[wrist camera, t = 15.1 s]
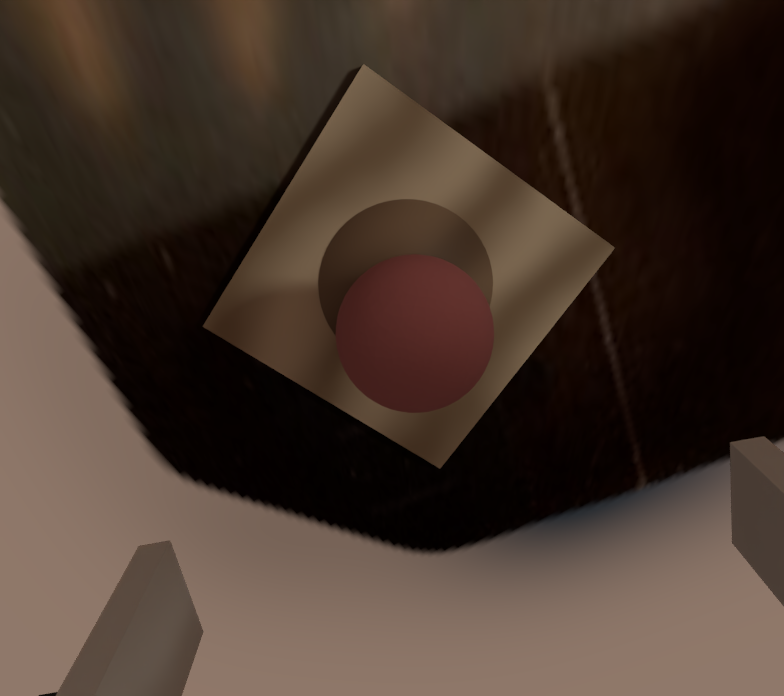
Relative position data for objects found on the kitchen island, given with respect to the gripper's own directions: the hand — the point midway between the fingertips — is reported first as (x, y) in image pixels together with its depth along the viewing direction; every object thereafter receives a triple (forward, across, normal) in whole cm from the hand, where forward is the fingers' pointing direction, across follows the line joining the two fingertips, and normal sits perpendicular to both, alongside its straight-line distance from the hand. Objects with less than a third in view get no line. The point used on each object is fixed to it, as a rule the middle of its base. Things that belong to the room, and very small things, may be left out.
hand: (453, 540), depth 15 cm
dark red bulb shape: (+24, 0, 0) cm, 24 cm away
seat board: (+25, 0, 0) cm, 25 cm away
